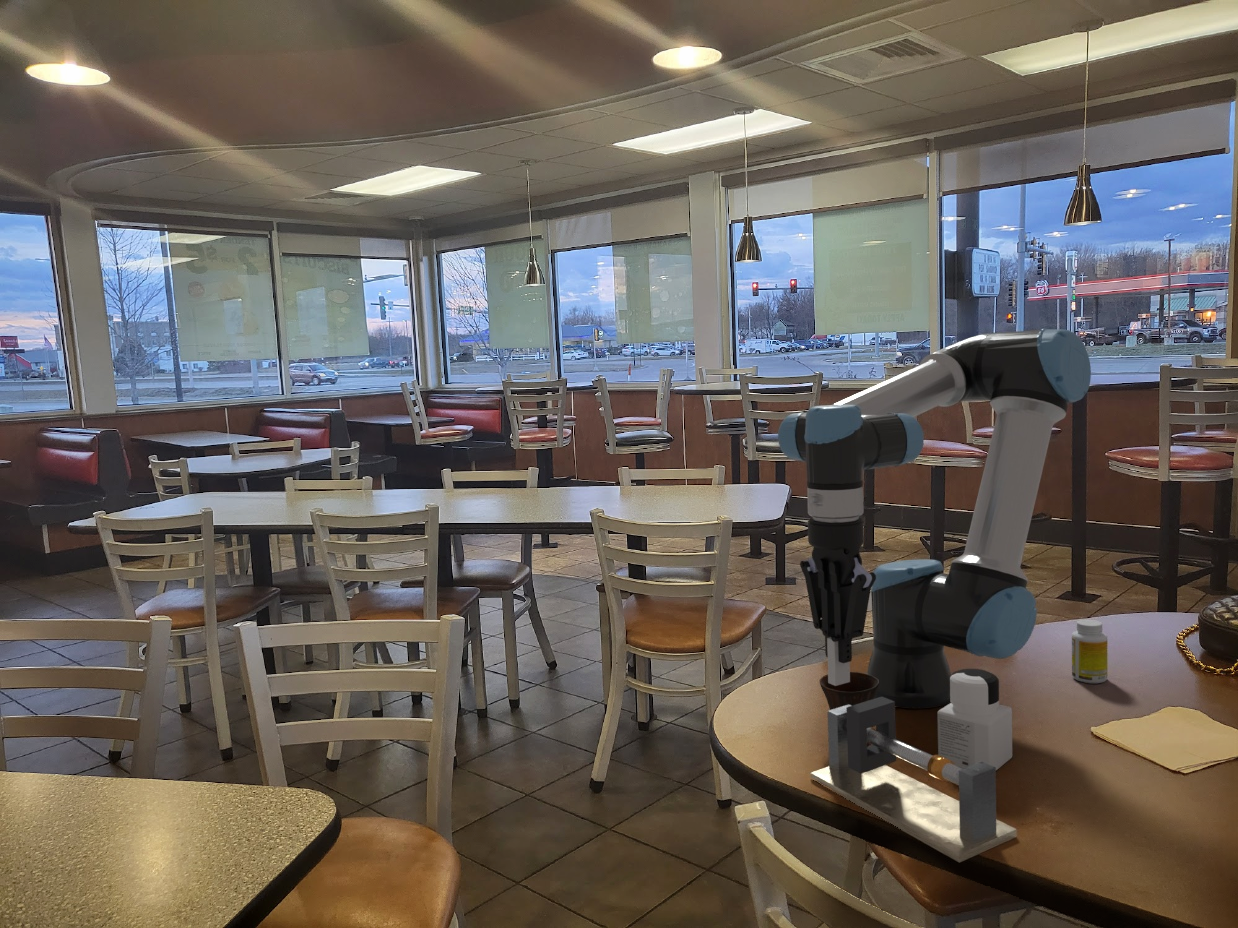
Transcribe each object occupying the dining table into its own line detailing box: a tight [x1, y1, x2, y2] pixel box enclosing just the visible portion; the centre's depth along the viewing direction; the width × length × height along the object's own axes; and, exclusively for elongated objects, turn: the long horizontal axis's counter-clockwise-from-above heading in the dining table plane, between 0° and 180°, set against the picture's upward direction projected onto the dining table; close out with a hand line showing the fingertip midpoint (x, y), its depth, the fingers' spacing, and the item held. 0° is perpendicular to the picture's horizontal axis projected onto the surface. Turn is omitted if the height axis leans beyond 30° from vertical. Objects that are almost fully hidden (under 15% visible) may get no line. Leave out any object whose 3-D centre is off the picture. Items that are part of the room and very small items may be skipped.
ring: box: [846, 697, 897, 774], centre depth 125 cm, size 2×6×8 cm, turn 119°
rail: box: [810, 704, 1018, 863], centre depth 120 cm, size 26×10×10 cm, turn 29°
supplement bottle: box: [1071, 619, 1108, 685], centre depth 160 cm, size 6×6×10 cm
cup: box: [819, 671, 879, 710], centre depth 141 cm, size 9×9×10 cm
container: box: [937, 668, 1013, 771], centre depth 132 cm, size 8×8×13 cm
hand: (839, 682), depth 129 cm, fingers closed
